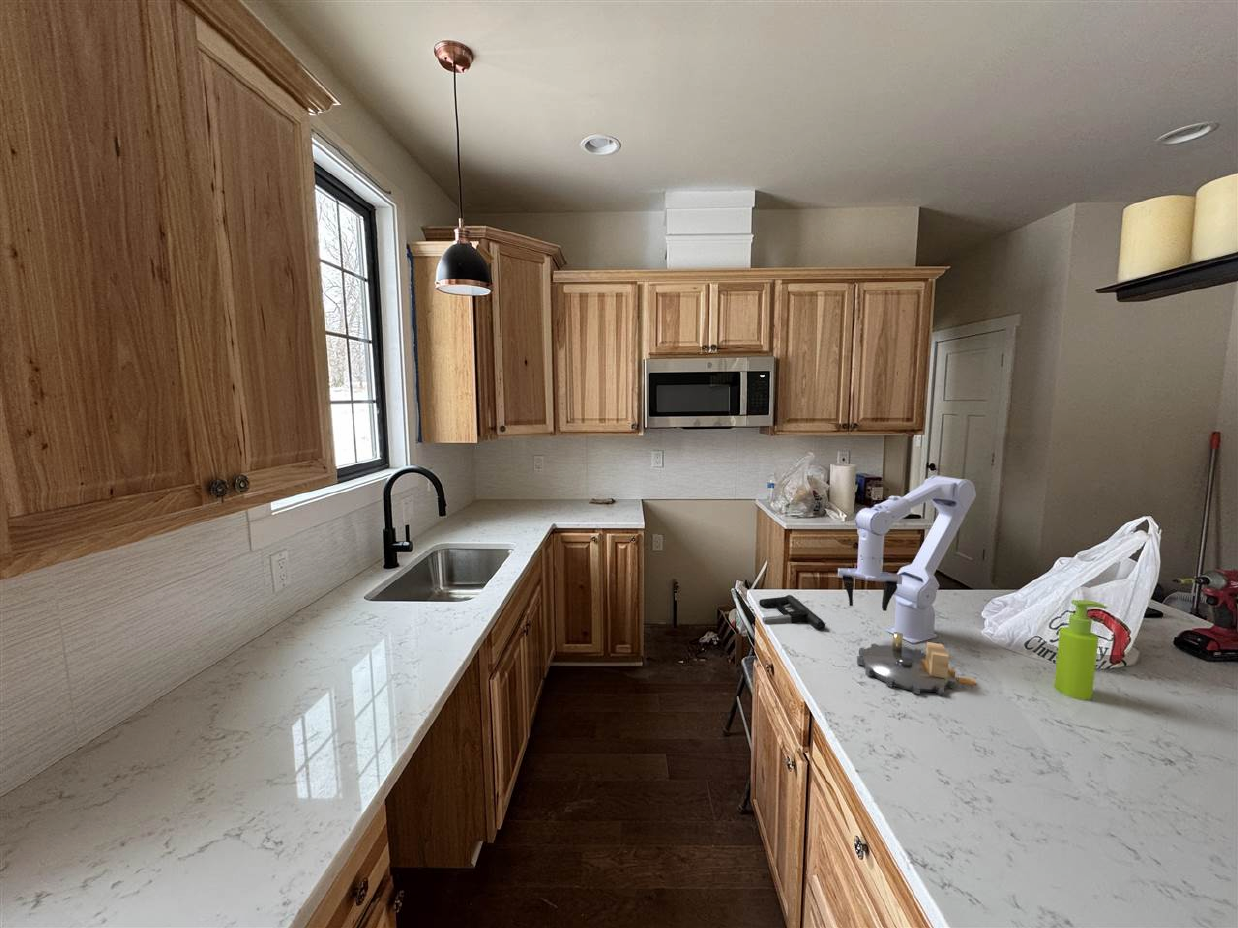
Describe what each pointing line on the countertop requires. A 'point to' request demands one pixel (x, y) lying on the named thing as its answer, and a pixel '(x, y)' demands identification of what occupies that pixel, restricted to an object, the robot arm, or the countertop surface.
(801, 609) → the submachine gun
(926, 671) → the sprocket
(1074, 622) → the soap dispenser
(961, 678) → the timing pointer
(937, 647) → the tan wooden block
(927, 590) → the robot arm
